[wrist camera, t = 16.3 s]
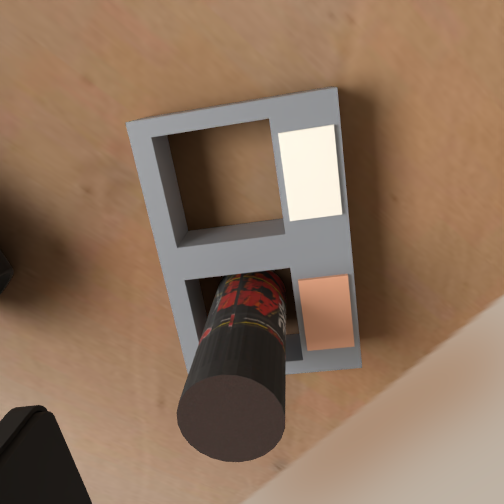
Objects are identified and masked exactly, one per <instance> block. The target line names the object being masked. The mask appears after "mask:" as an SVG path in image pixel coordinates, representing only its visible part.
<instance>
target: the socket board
mask: <svg viewBox="0 0 504 504" xmlns="http://www.w3.org/2000/svg"><path fill="white" fill-rule="evenodd" d="M262 119H269V122H270V129H271V136H272V143H273V150H274V157H275V164H276V171H277V178H278V185H279V192H280V199H281V207H282V214H283V218H282V219H275V220H267V221H260V222H252V223H244V224H237V225H229V226H222V227H214V228H206V229H199V230H191V231H188V228H187V223H186V219H185V214H184V210H183V205H182V201H181V196H180V191H179V187H178V182H177V178H176V173H175V169H174V164H173V160H172V155H171V151H170V146H169V141H168V137H167V135H169V134H175V133H182V132H188V131H194V130H200V129H207V128H213V127H219V126H225V125H231V124H238V123H244V122H250V121H256V120H262ZM126 127H127V131H128V135H129V139H130V143H131V147H132V151H133V155H134V159H135V163H136V167H137V171H138V175H139V179H140V183H141V187H142V191H143V195H144V199H145V203H146V207H147V211H148V215H149V219H150V223H151V227H152V232H153V236H154V240H155V244H156V248H157V252H158V256H159V260H160V264H161V268H162V272H163V276H164V280H165V284H166V288H167V292H168V296H169V300H170V304H171V308H172V312H173V316H174V320H175V324H176V328H177V332H178V336H179V340H180V344H181V348H182V352H183V356H184V360H185V364H186V368H187V372H188V374H189V371H190V368H191V365H192V362H193V359H194V356H195V353H196V350H197V348H198V345H199V342H200V339H201V336H202V333H203V330H204V327H205V324H206V321H207V314H206V310H205V305H204V301H203V296H202V291H201V287H200V282H199V278H207V277H216V276H224V275H233V274H241V273H250V272H258V271H267V270H275V269H284V268H290V270H291V277H292V284H293V291H294V298H295V306H296V313H297V320H298V327H299V334H291V335H286V372H285V374H296V373H308V372H319V371H331V370H342V369H353V368H362V361H361V350H360V339H359V327H358V316H357V305H356V293H355V282H354V271H353V259H352V248H351V237H350V225H349V214H348V203H347V192H346V180H345V169H344V158H343V146H342V135H341V124H340V112H339V101H338V90H337V87H332V86H331V87H325V88H319V89H313V90H307V91H301V92H295V93H289V94H283V95H277V96H271V97H265V98H259V99H253V100H247V101H241V102H235V103H229V104H223V105H217V106H211V107H205V108H199V109H193V110H187V111H181V112H175V113H169V114H163V115H157V116H151V117H145V118H141V119H137V120H133V121H130V122H126Z"/></svg>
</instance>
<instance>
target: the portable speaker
mask: <svg viewBox="0 0 504 504" xmlns="http://www.w3.org/2000/svg"><path fill="white" fill-rule="evenodd" d="M13 273H14V271H13V268H12V266H11V265H10V263H9V262H8V260H7V259H6V257H5V256H4V254H3V253H2V251H1V250H0V294H1V293H2V292H3V290H4V289H5V288H6V286H7V285H8V283H9V282H10V280H11V278H12V276H13Z"/></svg>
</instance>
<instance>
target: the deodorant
mask: <svg viewBox="0 0 504 504" xmlns="http://www.w3.org/2000/svg"><path fill="white" fill-rule="evenodd" d="M285 372H286V290H285V286H284V284H283V282H282V281H281V279H280V277H279V276H278V275H277V274H275V273H274V272H273V271H272V270H267V271H258V272H250V273H241V274H233V275H224V276H223V278H222V279H221V281H220V283H219V285H218V288H217V291H216V294H215V297H214V300H213V303H212V306H211V309H210V312H209V315H208V318H207V321H206V324H205V327H204V330H203V333H202V336H201V339H200V342H199V345H198V348H197V350H196V353H195V356H194V359H193V362H192V365H191V368H190V371H189V374H188V377H187V380H186V383H185V386H184V389H183V392H182V395H181V398H180V401H179V405H178V409H177V421H178V426H179V428H180V430H181V433H182V435H183V436H184V437H185V439H186V440H187V441H188V443H189V444H190V445H191V446H193V447H194V448H195V449H197V450H198V451H199V452H200V453H202V454H205V455H207V456H209V457H211V458H213V459H218V460H222V461H226V462H243V461H249V460H253V459H256V458H258V457H261V456H263V455H265V454H266V453H268V452H269V451H271V450H272V449H273V448H274V447H275V446H276V445H277V443H278V442H279V441H280V439H281V438H282V435H283V432H284V429H285Z"/></svg>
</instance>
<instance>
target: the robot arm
mask: <svg viewBox="0 0 504 504" xmlns="http://www.w3.org/2000/svg"><path fill="white" fill-rule="evenodd" d="M0 504H92V502H91V499H90V497H89V495H88V493H87V490H86V488H85V486H84V483H83V481H82V479H81V476H80V474H79V472H78V469H77V467H76V465H75V462H74V460H73V458H72V456H71V453H70V451H69V449H68V446H67V444H66V442H65V439H64V437H63V435H62V432H61V430H60V428H59V425H58V423H57V421H56V419H55V416H54V415H53V413H51V412H48V411H47V409H46V408H45V407H44V406H41V405H36V406H26V407H16V408H13V409H11V410H10V411H9V412H8V413H7V414H6V415H5V416H4V418H3V419H2V420H1V421H0Z"/></svg>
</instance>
